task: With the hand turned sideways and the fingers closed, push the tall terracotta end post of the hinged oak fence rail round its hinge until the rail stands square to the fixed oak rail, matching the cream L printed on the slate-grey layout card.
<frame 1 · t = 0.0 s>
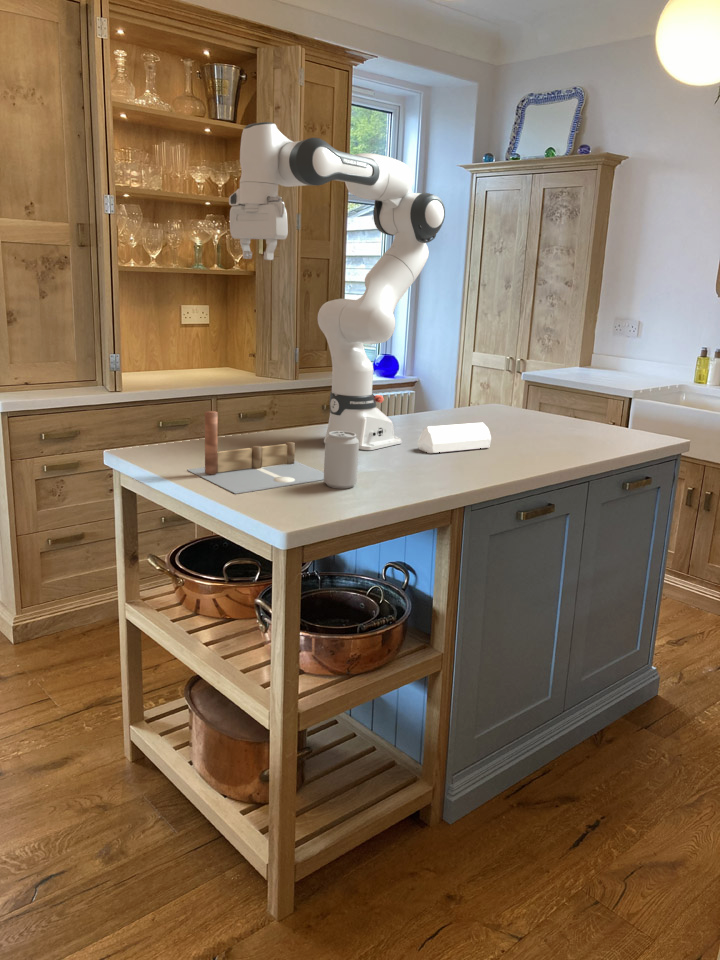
hand: (257, 259, 183), 48 cm above the countertop, tool pointing down, fingers open, 8 cm apart
white chamfered prism: (453, 450, 216), on the countertop
fixed rail: (256, 468, 184), resting on layout card
layout card: (262, 474, 179), on the countertop
can: (339, 485, 174), on the countertop
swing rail: (228, 440, 177), point 7 cm above the countertop, hinge at 0.0°
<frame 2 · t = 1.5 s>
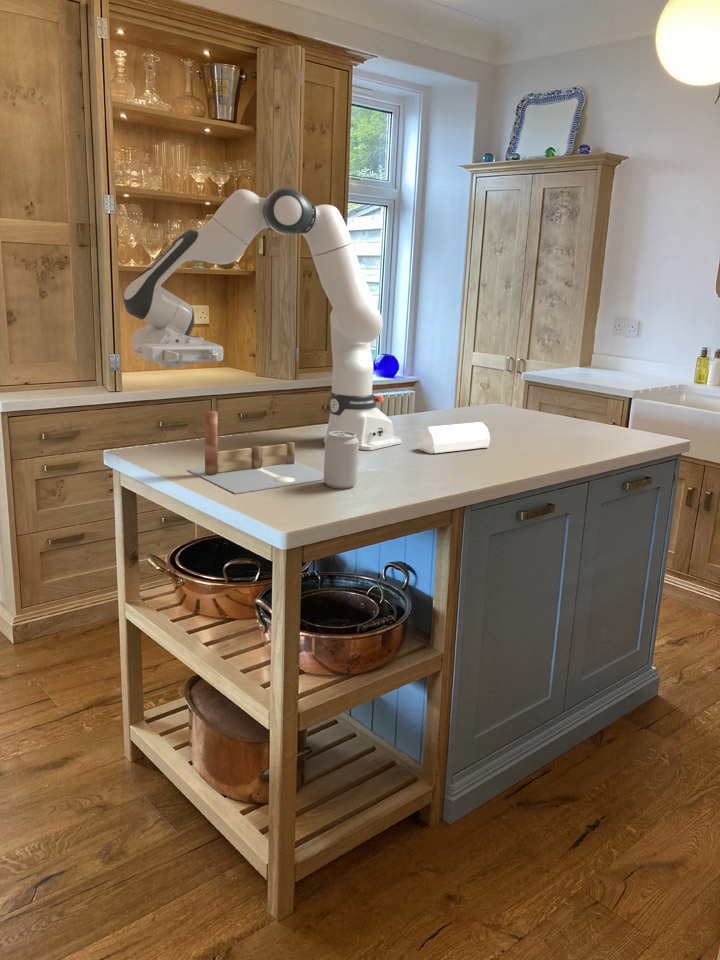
hand: (198, 357, 182), 25 cm above the countertop, tool horizontal, fingers open, 8 cm apart
nothing on the countertop moved.
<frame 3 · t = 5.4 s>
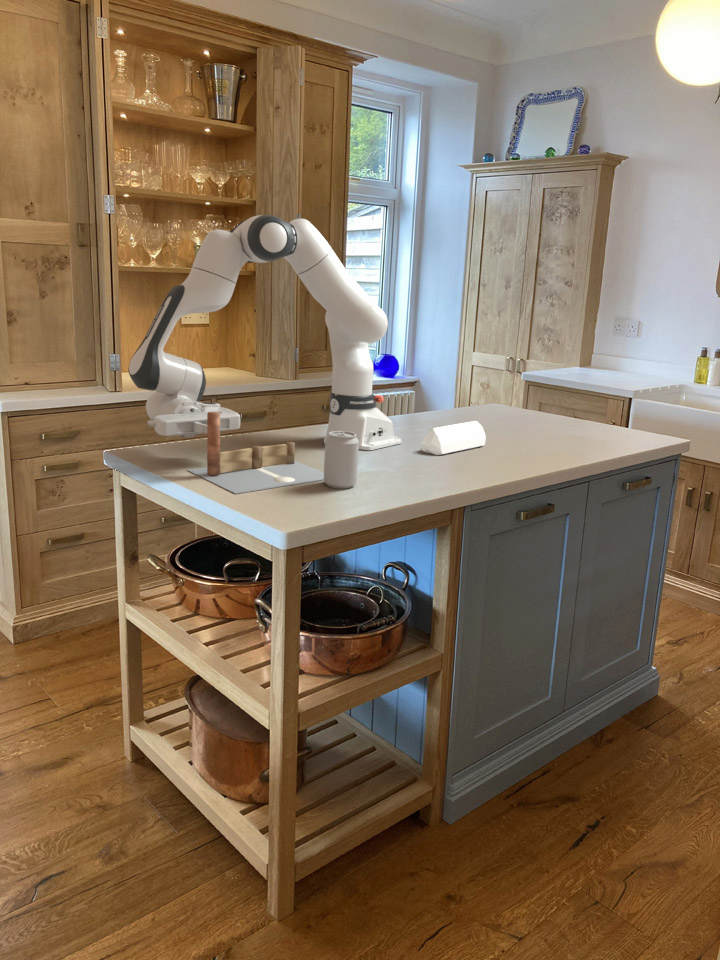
hand: (213, 429, 174), 10 cm above the countertop, tool horizontal, fingers closed
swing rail: (230, 441, 177), point 7 cm above the countertop, hinge at 5.0°, touching gripper
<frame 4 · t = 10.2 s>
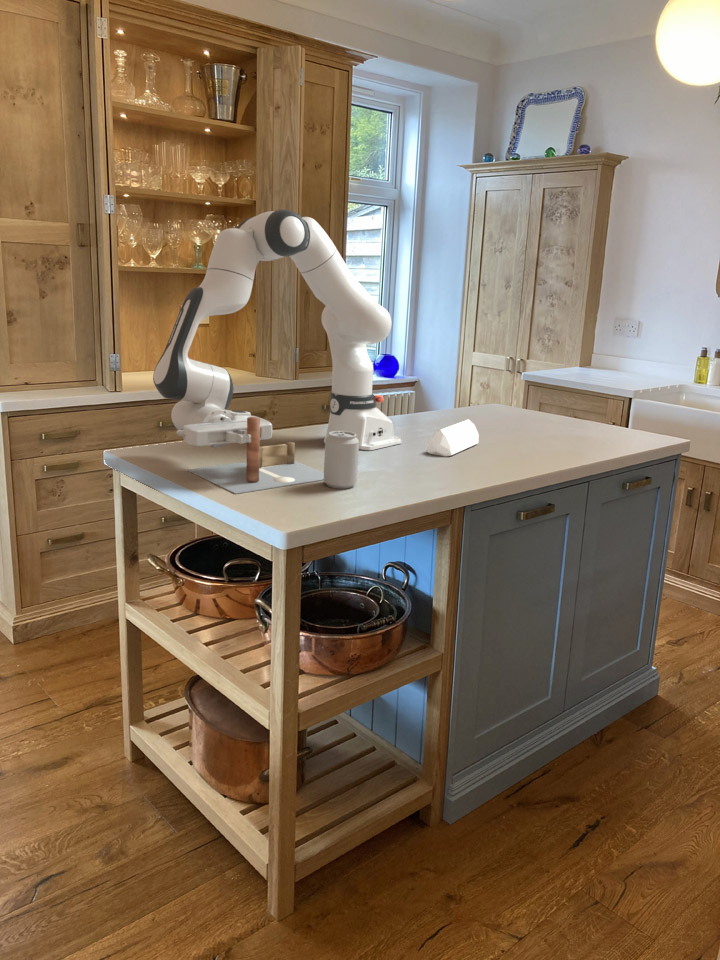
hand: (246, 439, 166), 10 cm above the countertop, tool horizontal, fingers closed
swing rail: (254, 444, 175), point 8 cm above the countertop, hinge at 54.5°, touching gripper
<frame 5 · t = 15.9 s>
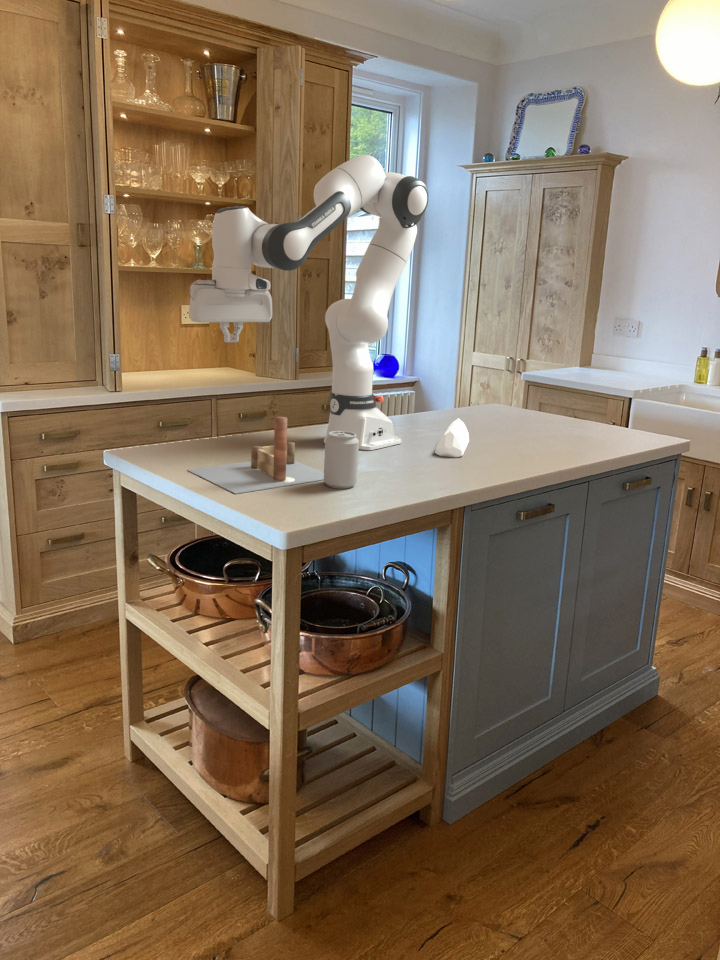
hand: (231, 342, 180), 29 cm above the countertop, tool pointing down, fingers closed
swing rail: (271, 444, 176), point 7 cm above the countertop, hinge at 84.0°
at the end: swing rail at +84° (first picture: +0°) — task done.
